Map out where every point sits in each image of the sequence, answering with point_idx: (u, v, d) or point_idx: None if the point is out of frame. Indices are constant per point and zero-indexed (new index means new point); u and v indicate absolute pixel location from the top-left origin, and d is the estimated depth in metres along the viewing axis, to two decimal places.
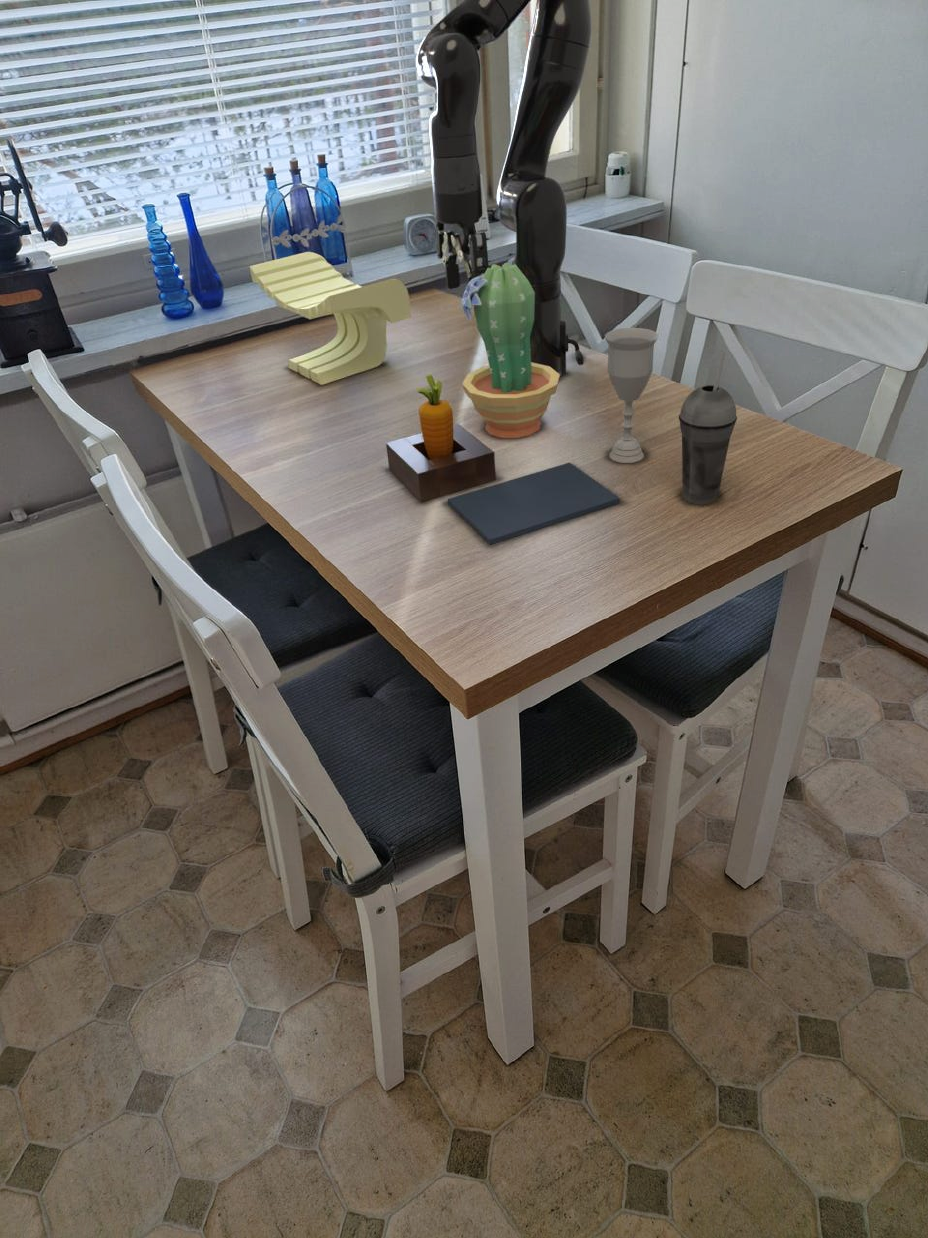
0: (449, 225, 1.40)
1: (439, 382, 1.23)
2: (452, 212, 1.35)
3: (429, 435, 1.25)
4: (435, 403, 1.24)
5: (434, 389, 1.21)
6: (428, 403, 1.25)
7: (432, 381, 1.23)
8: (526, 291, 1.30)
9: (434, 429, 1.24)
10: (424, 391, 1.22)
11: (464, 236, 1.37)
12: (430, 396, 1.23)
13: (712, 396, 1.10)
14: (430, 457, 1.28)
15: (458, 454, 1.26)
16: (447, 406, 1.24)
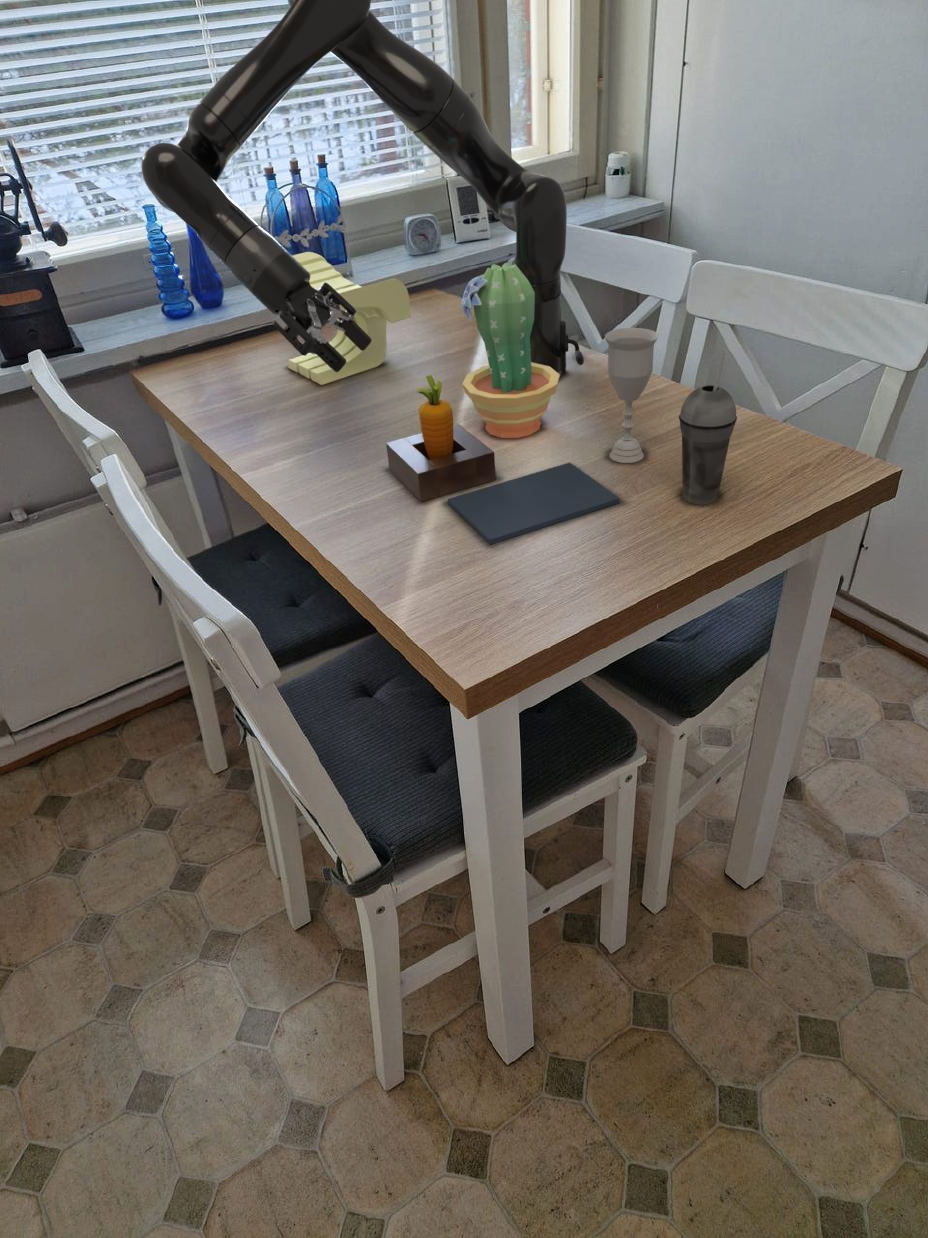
0: None
1: (439, 382, 1.23)
2: (265, 304, 1.21)
3: (429, 435, 1.25)
4: (435, 403, 1.24)
5: (434, 389, 1.21)
6: (428, 403, 1.25)
7: (432, 381, 1.23)
8: (526, 291, 1.30)
9: (434, 429, 1.24)
10: (424, 391, 1.22)
11: None
12: (430, 396, 1.23)
13: (712, 396, 1.10)
14: (430, 457, 1.28)
15: (458, 454, 1.26)
16: (447, 406, 1.24)
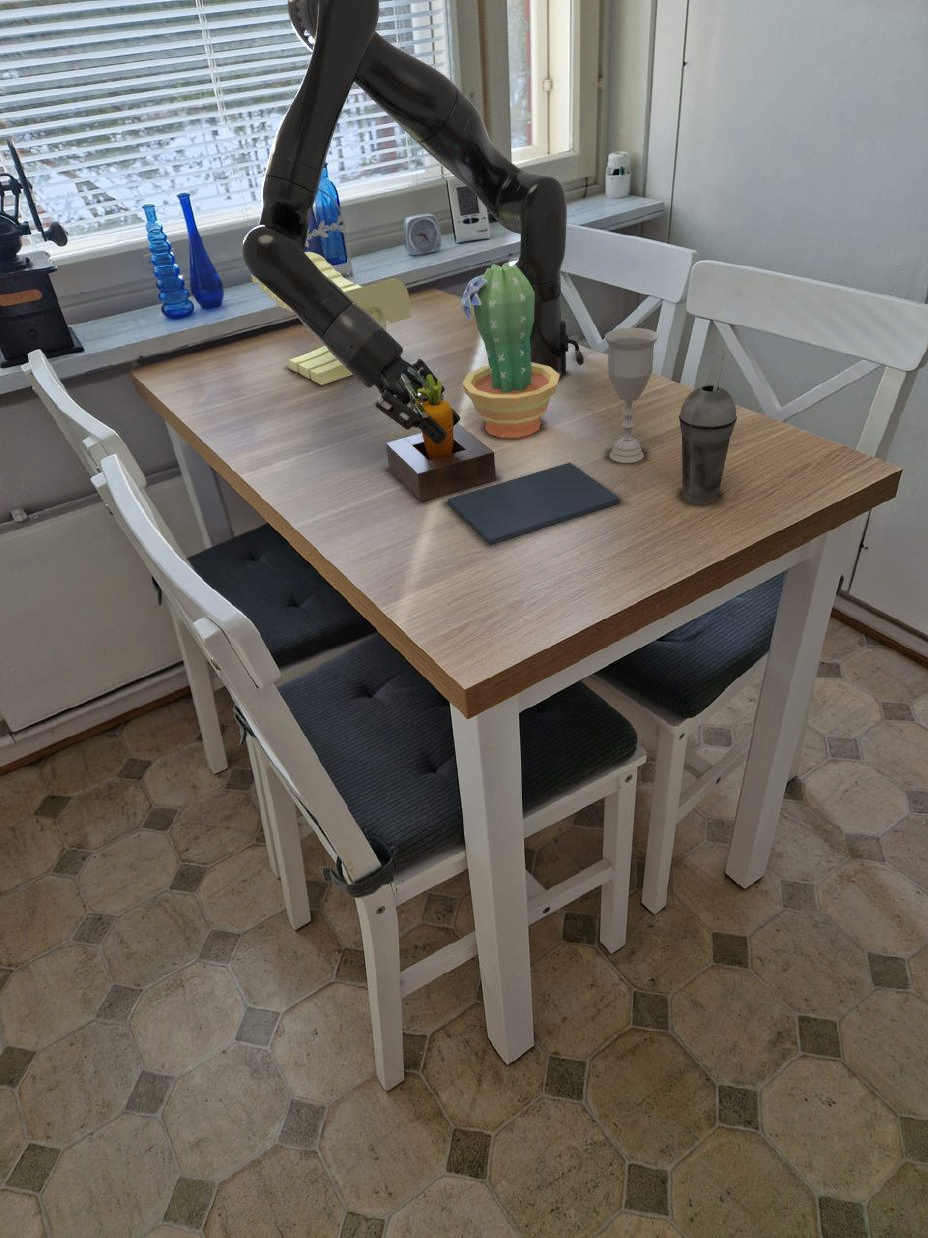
0: None
1: (439, 382, 1.23)
2: (359, 379, 1.23)
3: None
4: (435, 403, 1.24)
5: (434, 389, 1.21)
6: (428, 403, 1.25)
7: (432, 381, 1.23)
8: (526, 291, 1.30)
9: None
10: (424, 391, 1.22)
11: (381, 394, 1.22)
12: (430, 396, 1.23)
13: (712, 396, 1.10)
14: (430, 457, 1.28)
15: (458, 454, 1.26)
16: (447, 406, 1.24)
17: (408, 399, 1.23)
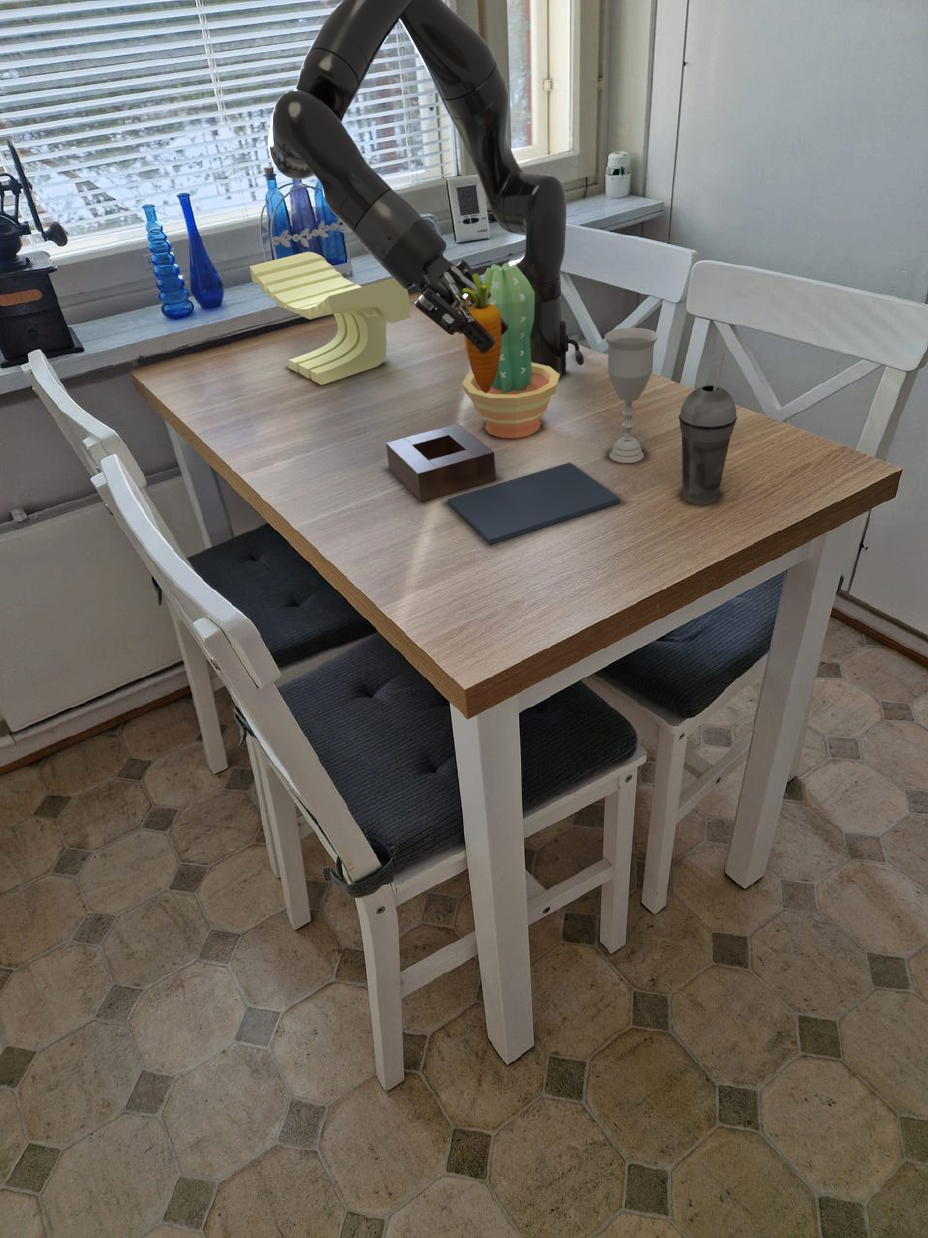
0: None
1: (487, 282, 1.09)
2: (397, 277, 1.09)
3: None
4: (482, 306, 1.10)
5: (482, 288, 1.07)
6: (474, 307, 1.11)
7: (479, 281, 1.09)
8: (526, 291, 1.30)
9: None
10: (470, 291, 1.08)
11: None
12: (476, 297, 1.09)
13: (712, 396, 1.10)
14: (474, 370, 1.14)
15: (458, 454, 1.26)
16: (495, 310, 1.10)
17: (452, 301, 1.09)
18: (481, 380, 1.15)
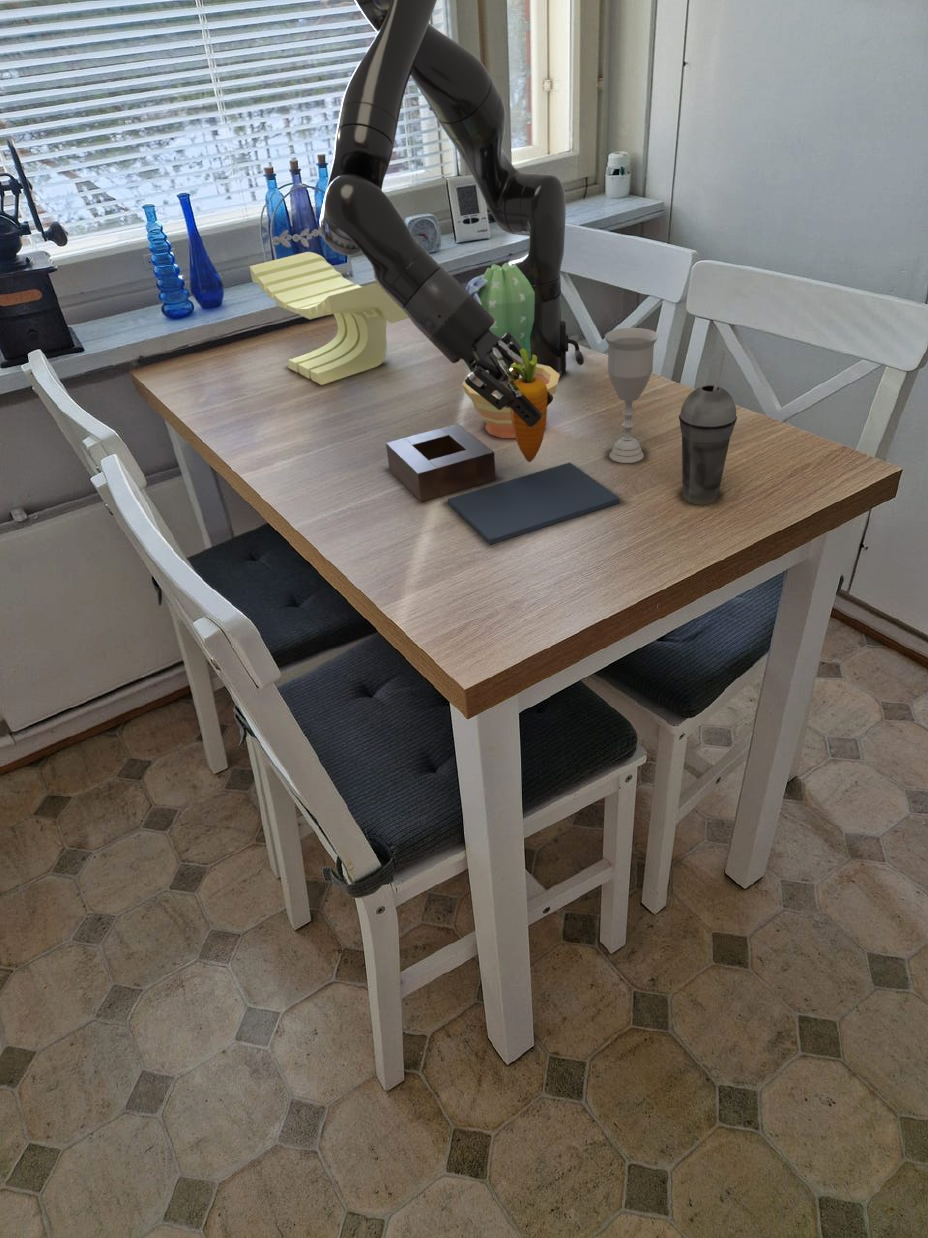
0: None
1: (534, 357, 1.10)
2: (445, 353, 1.10)
3: None
4: (529, 380, 1.11)
5: (530, 364, 1.08)
6: (520, 381, 1.12)
7: (526, 356, 1.11)
8: (526, 291, 1.30)
9: None
10: (518, 367, 1.10)
11: (470, 369, 1.09)
12: (524, 372, 1.11)
13: (712, 396, 1.10)
14: (519, 441, 1.16)
15: (458, 454, 1.26)
16: (542, 384, 1.11)
17: (499, 376, 1.10)
18: (526, 450, 1.16)
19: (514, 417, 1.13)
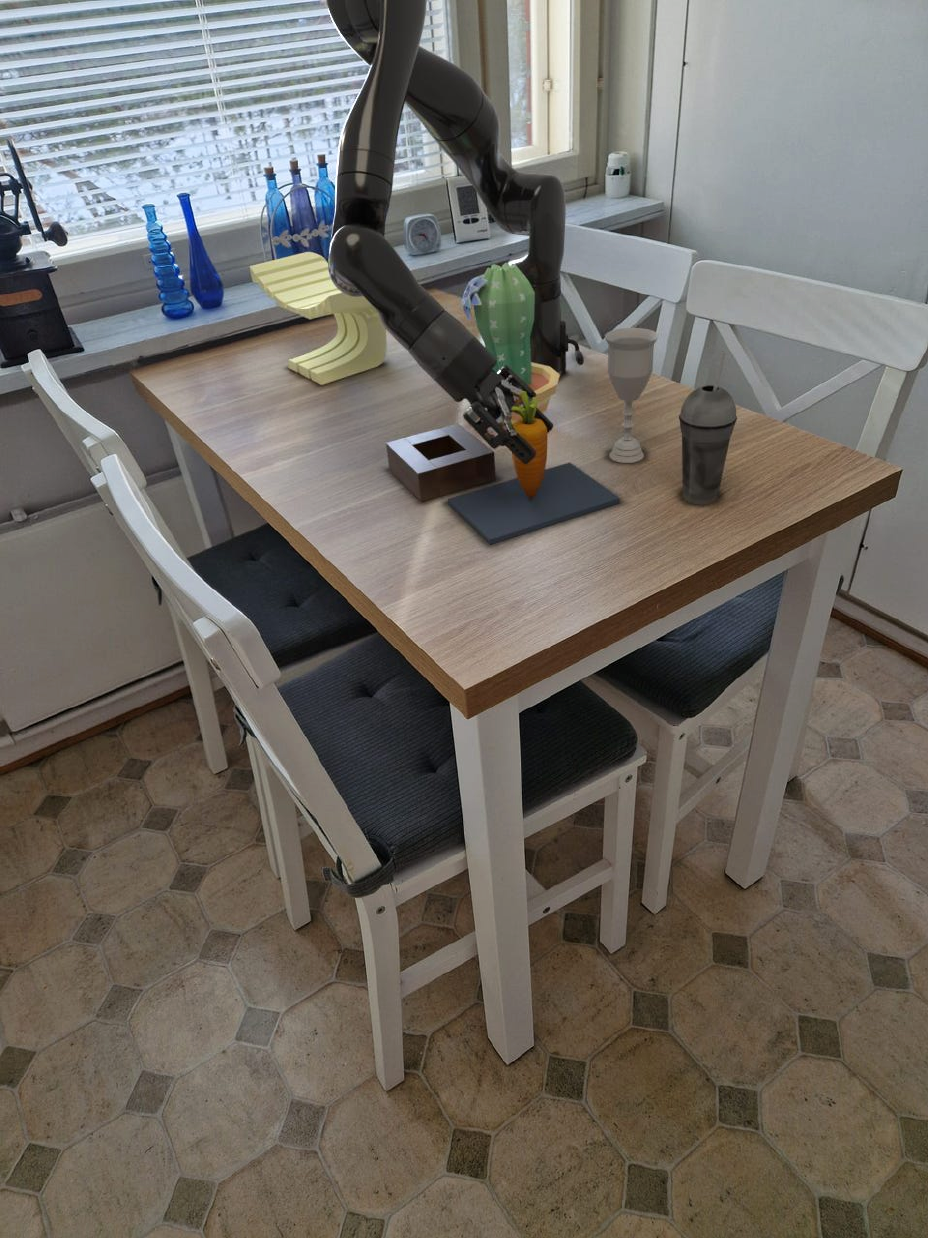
0: None
1: (534, 399, 1.14)
2: (449, 392, 1.13)
3: None
4: (529, 422, 1.14)
5: (531, 407, 1.12)
6: (521, 422, 1.15)
7: (526, 398, 1.14)
8: (526, 291, 1.30)
9: None
10: (519, 409, 1.13)
11: None
12: (524, 414, 1.14)
13: (712, 396, 1.10)
14: (521, 480, 1.19)
15: (458, 454, 1.26)
16: (542, 425, 1.15)
17: None
18: (527, 488, 1.20)
19: (515, 457, 1.17)
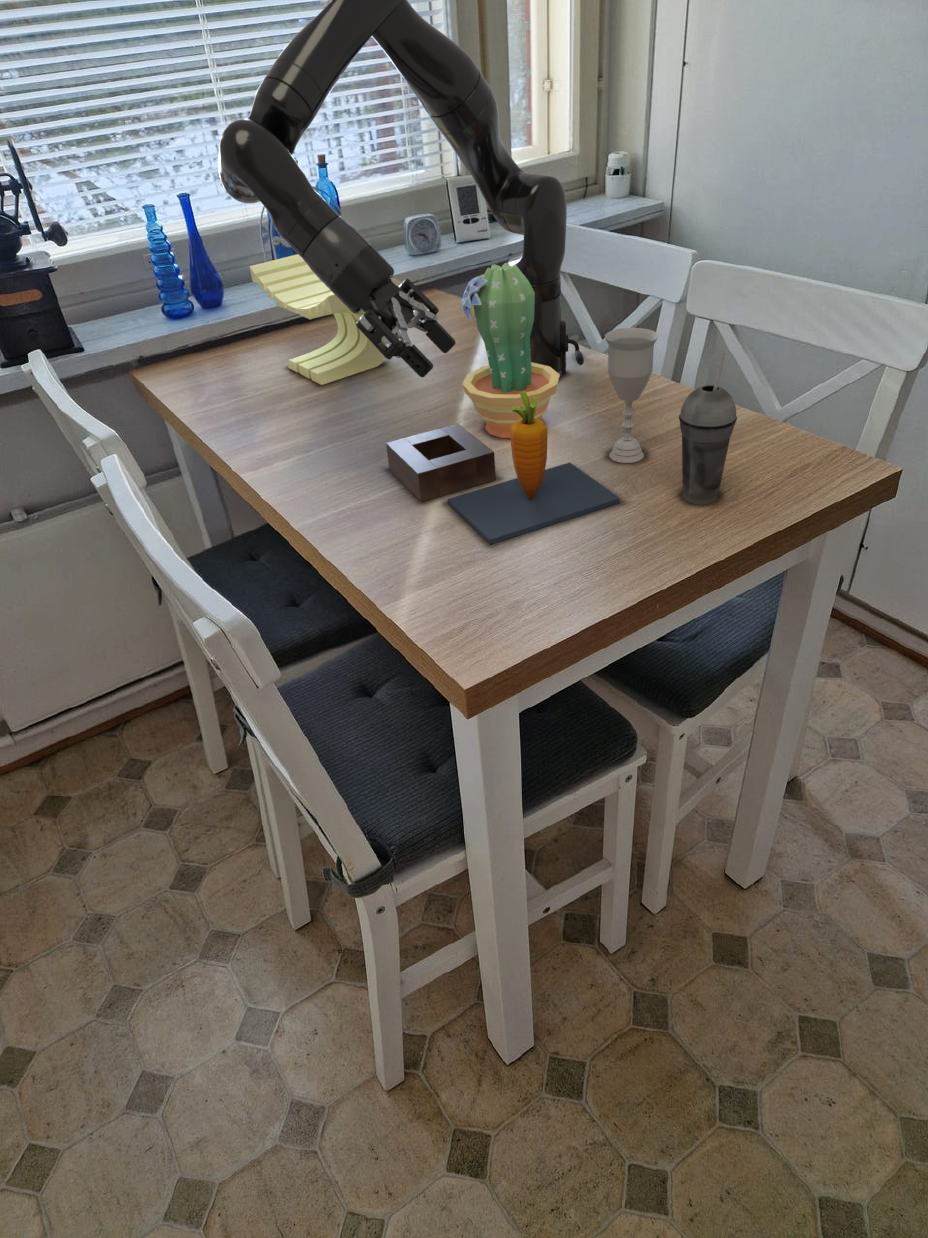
0: None
1: (534, 399, 1.14)
2: (345, 302, 1.11)
3: (522, 456, 1.16)
4: (529, 422, 1.14)
5: (531, 407, 1.12)
6: (521, 422, 1.15)
7: (526, 398, 1.14)
8: (526, 291, 1.30)
9: (528, 450, 1.15)
10: (519, 409, 1.13)
11: None
12: (524, 414, 1.14)
13: (712, 396, 1.10)
14: (521, 480, 1.19)
15: (458, 454, 1.26)
16: (542, 425, 1.15)
17: None
18: (527, 488, 1.20)
19: (515, 457, 1.17)
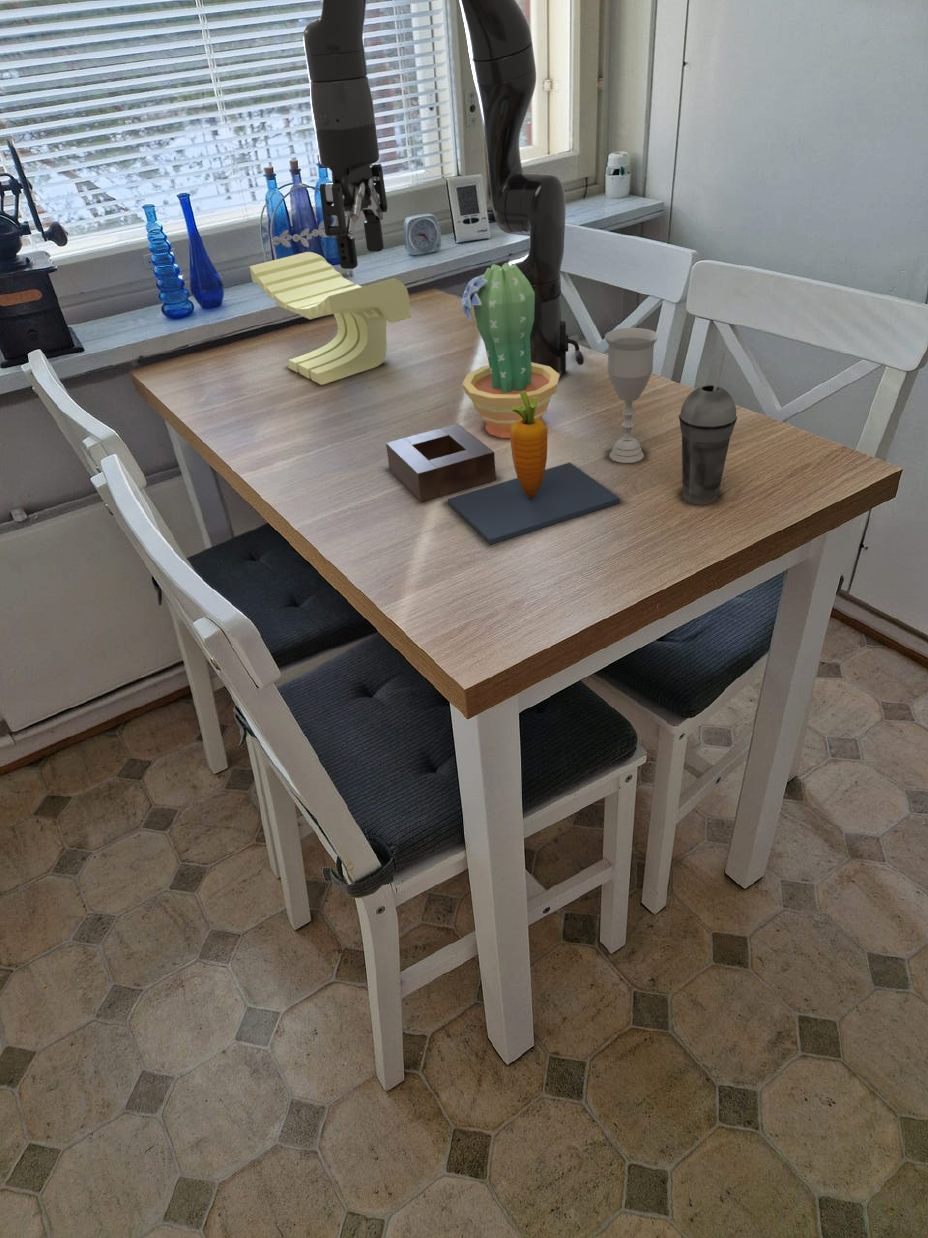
0: None
1: (534, 399, 1.14)
2: (320, 152, 1.09)
3: (522, 456, 1.16)
4: (529, 422, 1.14)
5: (531, 407, 1.12)
6: (521, 422, 1.15)
7: (526, 398, 1.14)
8: (526, 291, 1.30)
9: (528, 450, 1.15)
10: (519, 409, 1.13)
11: None
12: (524, 414, 1.14)
13: (712, 396, 1.10)
14: (521, 480, 1.19)
15: (458, 454, 1.26)
16: (542, 425, 1.15)
17: None
18: (527, 488, 1.20)
19: (515, 457, 1.17)
